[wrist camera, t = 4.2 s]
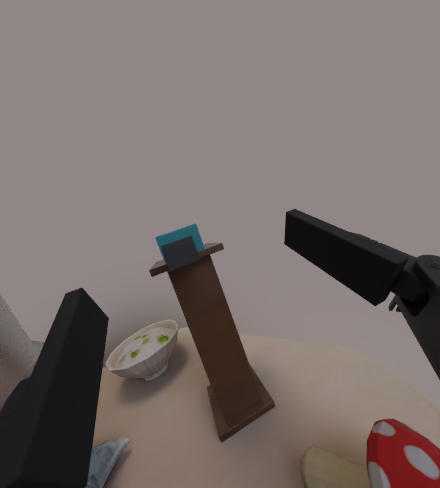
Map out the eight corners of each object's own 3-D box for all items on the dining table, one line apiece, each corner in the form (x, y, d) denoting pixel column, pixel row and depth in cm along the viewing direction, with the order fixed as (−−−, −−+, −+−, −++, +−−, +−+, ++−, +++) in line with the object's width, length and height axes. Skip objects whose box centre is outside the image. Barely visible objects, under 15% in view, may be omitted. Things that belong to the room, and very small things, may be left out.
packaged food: (74, 463, 32) (62, 440, 32) (134, 447, 31) (123, 423, 31) (18, 552, 23) (1, 523, 23) (99, 533, 23) (83, 502, 22)
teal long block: (170, 258, 33) (162, 237, 33) (200, 246, 34) (193, 227, 34) (153, 278, 16) (137, 236, 16) (215, 254, 17) (201, 214, 17)
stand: (205, 390, 37) (155, 262, 35) (251, 363, 40) (207, 243, 38) (219, 448, 27) (149, 270, 24) (279, 406, 30) (222, 242, 27)
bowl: (178, 336, 63) (168, 310, 62) (199, 363, 46) (186, 329, 45) (119, 373, 53) (106, 344, 52) (118, 425, 36) (99, 383, 36)
